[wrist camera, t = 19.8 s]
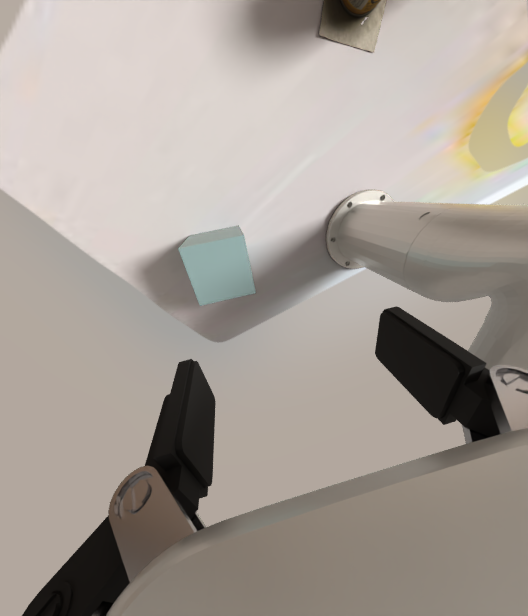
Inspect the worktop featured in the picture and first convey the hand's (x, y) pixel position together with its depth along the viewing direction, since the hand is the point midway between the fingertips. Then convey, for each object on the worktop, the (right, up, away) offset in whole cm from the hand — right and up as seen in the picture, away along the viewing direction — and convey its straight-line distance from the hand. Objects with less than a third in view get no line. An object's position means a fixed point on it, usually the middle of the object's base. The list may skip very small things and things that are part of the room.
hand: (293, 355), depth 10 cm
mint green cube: (-9, +11, +23) cm, 27 cm away
